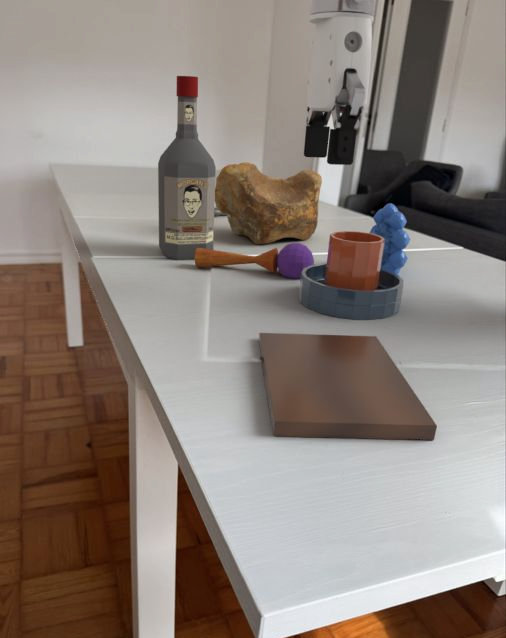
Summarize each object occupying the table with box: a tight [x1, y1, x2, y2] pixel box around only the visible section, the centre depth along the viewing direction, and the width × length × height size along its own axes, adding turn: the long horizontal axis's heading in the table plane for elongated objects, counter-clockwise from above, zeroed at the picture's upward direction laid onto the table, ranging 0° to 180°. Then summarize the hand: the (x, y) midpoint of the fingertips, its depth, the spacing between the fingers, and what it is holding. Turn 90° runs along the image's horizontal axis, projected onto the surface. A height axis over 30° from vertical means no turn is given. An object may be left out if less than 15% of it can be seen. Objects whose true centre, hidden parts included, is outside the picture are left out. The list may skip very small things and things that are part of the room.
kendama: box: [194, 242, 315, 280], centre depth 92 cm, size 6×6×20 cm
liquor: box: [157, 75, 217, 261], centre depth 97 cm, size 9×9×30 cm
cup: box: [324, 230, 385, 290], centre depth 77 cm, size 7×7×10 cm
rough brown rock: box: [215, 162, 323, 245], centre depth 115 cm, size 23×17×15 cm
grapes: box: [369, 202, 411, 275], centre depth 93 cm, size 12×7×12 cm, turn 11°
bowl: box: [298, 262, 405, 321], centre depth 79 cm, size 14×14×4 cm
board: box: [258, 332, 438, 441], centre depth 56 cm, size 14×20×2 cm
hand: (326, 160), depth 72 cm, fingers open, 9 cm apart
